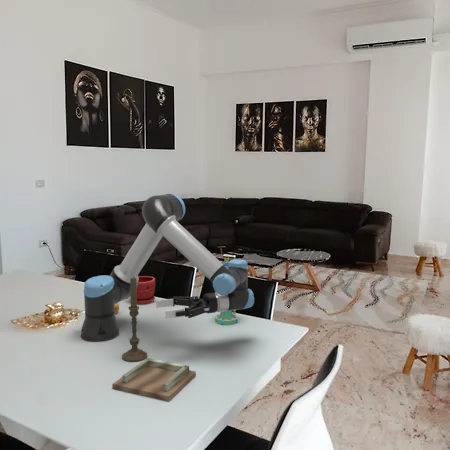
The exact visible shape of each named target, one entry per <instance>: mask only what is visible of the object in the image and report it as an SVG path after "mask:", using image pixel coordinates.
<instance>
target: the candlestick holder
mask: <svg viewBox="0 0 450 450" xmlns="http://www.w3.org/2000/svg"><path fill="white" fill-rule="evenodd" d="M130 292H131V296H130V306H128V310H129V316H130V317H131V322H130V324H131V330H132V331H131V333H132V336H131V338H130V339H129V343H130V345H131V348H130V349H128V350H127V351H126V352H124V353H122V355H121V359H122V360H123V361H125V362H129V363H137V362H142V361H144V360H145V359H146V358H148V353H147V352H146V351H145V350H143V349H141V348H138V345H139V343H140V338H139V337H138V336H137V331H138V330H137V324H138V321H137V320H138V319H137V316H138V315H140V314H139V313H140V312H139V309H140V306H139V305H138V304H137V280H136V277H131V278H130Z"/></svg>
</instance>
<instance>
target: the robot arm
mask: <svg viewBox="0 0 450 450" xmlns="http://www.w3.org/2000/svg"><path fill="white" fill-rule="evenodd" d="M141 211H142V212H141V214H142V218H143V220H144V221H145V225H144V226H143V227H142V229H141V230H140V233H139V234H138V236H137V238H135V240H134V242H133V244H132V246H131V247H130V249H129V250H128V252H127V253H126V255H125V257H124V259H123V260H122V262H121V263H120V264H119V265H116V266H114V268H113V269H112V271H111V273H110V275H108V274H107V275H97V276H92V277H90V278H88V279H87V280H86V281H85V282H84V284H83V294H84V296H83V297H84V320H83V323H82V326H81V330H80V337H81V339H83V340H85V341H88V342H104V341H109V340H113V339H114V338H116V337H119V335H120V326H119V324H118V321H117V318H116V315H115V314H116V313H115V308H114V304H116V303H118V304H119V303H120V302H122V301H124V300H127V299H129V298H131V292H130V278H131V277H136V280H137V282H138V280H139V278H138V277H139V274H140V272H141V271H142V269H143V267H144V266H145V265H146V263H147V261H148V260H149V258H150V257H151V255H152V253H153V252H154V250H155V249H156V248H157V246H158V244H159V243H160V241H161V240H162V238H164V239H166V240H167V241H168V242H169V243H170V244H171V245H172V246H173V247H174V248H175V249H177V251H178V252H179V253H181V254H182V255H183V256H184V257H185V258H186V259H187V260H188V261H189V262H190V263H191V264H192V266H195V268H197V270H198V271H200V272H201V273H202V275H204V276H205V277H206V278H207V279H208V280H209V281H210V282H211V283H212V287H213V289H214V292H209V293H205V294H203V295H202V298H199V297H198V296H197V295H195V296H175V295H174V296H172V298H165V299H159V300H158V299H156V301H155V304H156V305H155V307H156V309H159V308H160V309H161V308H166V307H172V308H174V307H175V306H180V307H181V306H182V307H184V308H177V309H167V310H165V318H166V319H167V320H168V319H174V318H182V317H187V318H188V319H191V318H195V317H197V316H199V315H203V314H214V313H220V312H221V313H223V311H229V310H232V311H233V310H236V311H237V310H245V309H248V308H252V307H253V306H254V304H255V297H254V292H253V290H252V289H250V288H249V287H248V281H249V279H248V277H249V276H248V275H249V274H248V273H249V272H248V271H249V266H248V261H247V260H245V259H236V258H235V259H231V260H230V259H229V260H228V262H229V263H227V264H228V266H224V265H223V264H222V263H223V262H221V261H220V260H219V259H218V258H217V257H216V256H215V255H214V254H212V253H211V251H209V250H208V249H207V248H206V247H205V246H204V245H203V244H202V242H200V241H199V240H198V239H196V237H194V235H192V234H191V233H190V232H189V231H188V230H187V229H186V228H184V227H183V225H181V224H180V223H179V221H181V220H182V219H183V218H184V216H185V214H186V206H185V202H184V201H183V199H182V198H181V197H180V196H178V195H177V194H175V193H174V194H173V193H166V194H160V195H157V194H155V195H152V196H150V197H149V198H147V199H146V200H145V201H144V203H143V205H142V207H141Z"/></svg>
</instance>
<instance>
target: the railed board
mask: <svg viewBox="0 0 450 450" xmlns="http://www.w3.org/2000/svg"><path fill="white" fill-rule="evenodd" d="M196 375H197V371H196V370H190V365H185V364H180V363H176V362H175V363H174V362H171V361H165V360H159V359H156V358H154V359H153V358H151V357H150V358H149V357H147V358H146V359H144V360H142V361H140V362H139V363H138V364H137V365H135V366H134V367H133V368H131V369H129V370H128V371H126V372H125V373H124V374H123V375H122V377H120V378H119V379H117V380H116V381H114V382H113V383H112V384H111V386H112V387H111V388H112V389H113V390H117V391H122V392H124V393H125V392H126V393H130V394H134V395H140V396H144V397H148V398H153V399H156V400H161V401H165V402H170V401H171V400H172V399H173V398H174V397H175V396H176V395H178V394H179V393H180V392H181V391H182V390H183V389H184V388H185V387H186V386H187V385H188V384H190V382H192V380H193V379H194V378H196Z"/></svg>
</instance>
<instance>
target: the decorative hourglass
mask: <svg viewBox="0 0 450 450" xmlns="http://www.w3.org/2000/svg"><path fill="white" fill-rule="evenodd" d="M226 257H227V258H228V259H226ZM229 261H230V257H229V256H228V255H225V256H224V261H222V262H221V263H222V264H223V265H224V266H225V267H228V263H229ZM236 311H237V310H229V311H223V313H221V312H219V314H217V315H215V317H214V320H215V324H218V325H222V326H224V325H225V326H230V325H235V324H237V323H238V321H239V318H238V316H237V315H236V314H237V312H236Z"/></svg>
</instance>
